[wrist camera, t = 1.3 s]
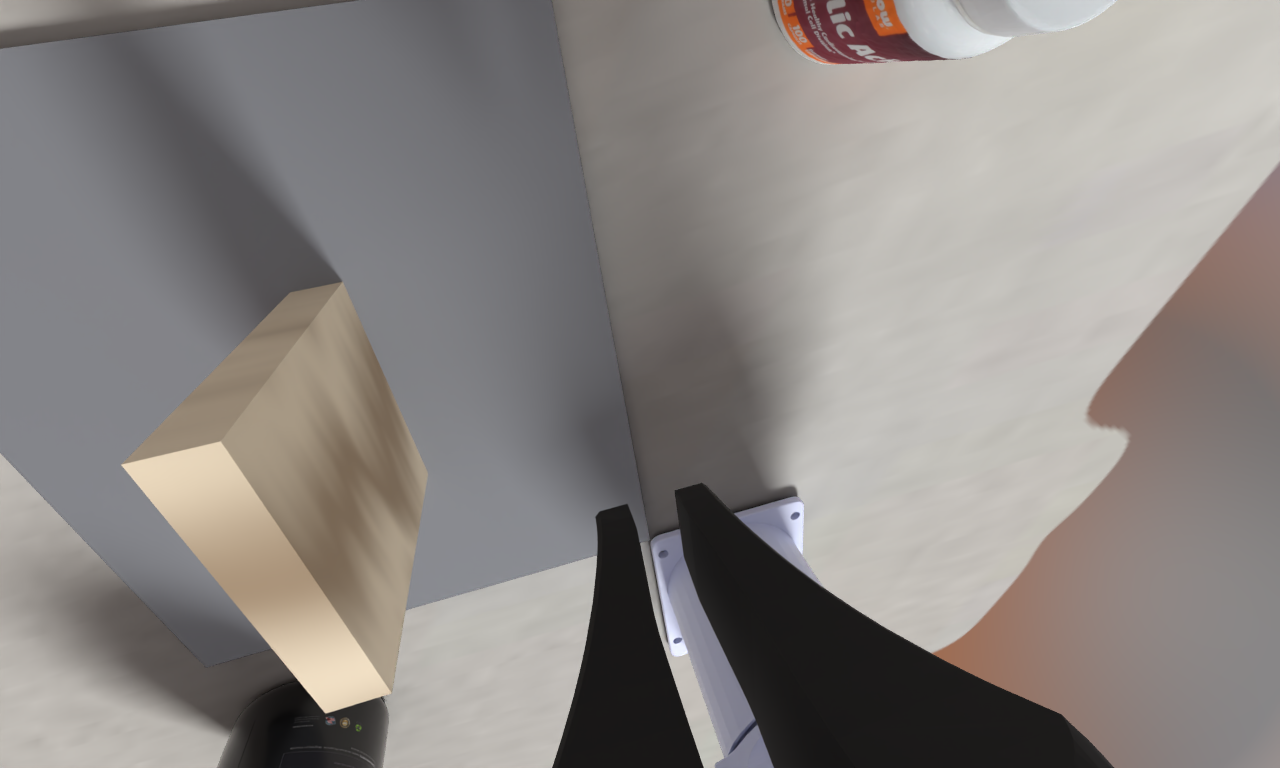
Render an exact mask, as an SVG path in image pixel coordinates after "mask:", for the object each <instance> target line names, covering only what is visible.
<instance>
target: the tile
mask: <svg viewBox="0 0 1280 768" xmlns="http://www.w3.org/2000/svg"><path fill="white" fill-rule="evenodd" d="M121 465H122V467H123V468H124V469H125V470H126V471H127V473H128V474H129V475H130V476H131V478H132V479H133V480H134V481H135V482H136V484H137V485H138V486H139V487H140V488H141V490H142V491H143V492H144V493H145V495H146V496H147V497H148V498H149V499H150V501H151V502H152V503H153V504H154V506H155V507H156V508H157V509H158V510H159V512H160V513H161V514H162V515H163V516H164V518H165V519H166V520H167V521H168V523H169V524H170V525H171V526H172V527H173V529H174V530H175V531H176V532H177V533H178V535H179V536H180V537H181V538H182V540H183V541H184V542H185V543H186V544H187V546H188V547H189V548H190V549H191V551H192V552H193V553H194V554H195V555H196V557H197V558H198V559H199V560H200V561H201V563H202V564H203V565H204V566H205V568H206V569H207V570H208V571H209V572H210V574H211V575H212V576H213V577H214V578H215V580H216V581H217V582H218V583H219V585H220V586H221V587H222V588H223V589H224V591H225V592H226V593H227V594H228V596H229V597H230V598H231V599H232V600H233V602H234V603H235V604H236V605H237V606H238V608H239V609H240V610H241V611H242V613H243V614H244V615H245V616H246V617H247V619H248V620H249V621H250V622H251V623H252V625H253V626H254V627H255V628H256V630H257V631H258V632H259V633H260V634H261V636H262V637H263V638H264V639H265V641H266V642H267V643H268V644H269V645H270V647H271V648H272V649H273V650H274V651H275V653H276V654H277V655H278V656H279V658H280V659H281V660H282V661H283V662H284V664H285V665H286V666H287V667H288V668H289V670H290V671H291V672H292V673H293V675H294V676H295V677H296V678H297V679H298V681H299V682H300V683H301V684H302V686H303V687H304V688H305V689H306V690H307V692H308V693H309V694H310V695H311V696H312V698H313V699H314V700H315V701H316V703H317V704H318V705H319V706H320V707H321V709H322V710H323V711H324V712H325V713H329V712H333V711H336V710H339V709H342V708H346V707H349V706H352V705H355V704H359V703H362V702H365V701H368V700H372V699H375V698H378V697H381V696H385V695H388V694H391V693H392V689H393V683H394V677H395V671H396V665H397V658H398V652H399V646H400V640H401V634H402V628H403V622H404V616H405V610H406V604H407V598H408V592H409V586H410V580H411V574H412V568H413V562H414V556H415V550H416V544H417V538H418V532H419V526H420V519H421V513H422V507H423V501H424V495H425V489H426V483H427V477H428V472H427V470H426V468H425V465H424V463H423V461H422V459H421V456H420V454H419V452H418V450H417V447H416V445H415V443H414V441H413V438H412V436H411V434H410V432H409V429H408V427H407V425H406V423H405V420H404V418H403V416H402V414H401V411H400V409H399V407H398V405H397V402H396V400H395V398H394V396H393V393H392V391H391V389H390V387H389V385H388V382H387V380H386V378H385V376H384V373H383V371H382V369H381V367H380V364H379V362H378V360H377V358H376V355H375V353H374V351H373V349H372V346H371V344H370V342H369V340H368V337H367V335H366V333H365V331H364V328H363V326H362V324H361V322H360V319H359V317H358V315H357V313H356V310H355V308H354V306H353V304H352V301H351V299H350V297H349V295H348V292H347V290H346V288H345V286H344V284H343V282H339V283H334V284H329V285H324V286H319V287H314V288H310V289H305V290H300V291H295V292H290V293H289V294H288V295H287V296H286V297H285V298H284V299H283V300H282V301H281V302H280V303H279V304H278V305H277V306H276V307H275V308H274V309H273V310H272V311H271V312H270V313H269V314H268V315H267V316H266V317H265V318H264V319H263V320H262V322H261V323H260V324H259V325H258V326H257V327H256V328H255V329H254V330H253V331H252V332H251V333H250V334H249V335H248V336H247V337H246V338H245V339H244V340H243V341H242V342H241V343H240V344H239V345H238V346H237V347H236V348H235V349H234V350H233V351H232V352H231V353H230V354H229V355H228V356H227V357H226V358H225V359H224V360H223V361H222V362H221V363H220V364H219V365H218V366H217V367H216V368H215V369H214V370H213V371H212V373H211V374H210V375H209V376H208V377H207V378H206V379H205V380H204V381H203V382H202V383H201V384H200V385H199V386H198V387H197V388H196V389H195V390H194V391H193V392H192V393H191V394H190V395H189V396H188V397H187V398H186V399H185V400H184V401H183V402H182V403H181V404H180V405H179V406H178V407H177V408H176V409H175V410H174V411H173V412H172V413H171V414H170V415H169V416H168V417H167V418H166V419H165V420H164V421H163V423H162V424H161V425H160V426H159V427H158V428H157V429H156V430H155V431H154V432H153V433H152V434H151V435H150V436H149V437H148V438H147V439H146V440H145V441H144V442H143V443H142V444H141V445H140V446H139V447H138V448H137V449H136V450H135V451H134V452H133V453H132V454H131V455H130V456H129V457H128V458H127V459H126V460H125V461H124V462H123V463H122V464H121Z"/></svg>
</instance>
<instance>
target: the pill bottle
mask: <svg viewBox="0 0 1280 768" xmlns="http://www.w3.org/2000/svg"><path fill="white" fill-rule="evenodd" d="M1116 1H1117V0H772V4H773V9H774V12H775V16H776V21H777V23H778V25H779V27H780V29H781V31H782V33H783V35H784V37H785V38H786V40H787V41H788V43H789V44H790V45H791V46H792V47H793V49H794V50H795V51H796V52H797V53H799V54H800V55H801V56H803V57H805V58H806V59H808V60H810V61H813V62H816V63H819V64H825V65H836V64H856V63H884V62H899V61H915V60H918V61H930V60H948V59H950V60H956V59H966V58H971V57H974V56H977V55H980V54H983V53H985V52H988V51H990V50H992V49H994V48H996V47H998V46H1000V45H1002V44H1004V43H1006V42H1007V41H1009V40H1010V39H1012V38H1013V37H1019V36H1025V35H1034V34H1044V33H1053V32H1059V31H1064V30H1068V29H1072V28H1074V27H1077V26H1080V25H1082V24H1084V23H1086V22H1088V21H1089V20H1091V19H1093V18H1095V17H1096V16H1098V15H1099V14H1101V13H1102V12H1103V11H1105V10H1106V9H1107V8H1109V7H1110V6H1111V5H1113V4H1114V3H1115V2H1116Z"/></svg>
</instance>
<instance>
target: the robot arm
mask: <svg viewBox="0 0 1280 768" xmlns="http://www.w3.org/2000/svg"><path fill="white" fill-rule="evenodd" d="M675 497H676V504H677V512H678V519H679V526H680V529H678V530H674V531H671V532H668V533H664V534H661V535H658V536H656V537H654V538H653V539H652V541H651V550H652V556H653V561H654V567H655V572H656V578H657V583H658V589H659V594H660V600H661V605H662V611H663V616H664V621H665V627H666V632H667V638H668V643H669V649H670V652H671V654H672V655H673V656H681V655H684V654H689V657H690V660H691V663H692V666H693V669H694V672H695V674H696V677H697V680H698V683H699V686H700V689H701V692H702V695H703V698H704V701H705V703H706V706H707V709H708V712H709V715H710V718H711V721H712V724H713V727H714V729H715V732H716V735H717V738H718V741H719V744H720V747H721V750H722V753H723V756H724V759H722V760H720V761H719V762H717V763H716V764H715V768H1114V767H1113V766H1112V765H1111V764H1110V763H1109V762H1108V760H1107V759H1106V758H1105V757H1104V756H1103V755H1102V754H1101V753H1100V752H1099V751H1098V750H1097V749H1096V748H1095V746H1093V744H1092V743H1091V742H1090V741H1089V740H1088V739H1087V738H1086V737H1084V736H1083V735H1082V734H1081V733H1080V732H1079V731H1078V730H1077V729H1076V728H1075V727H1074V726H1072V725H1071V724H1070V723H1069V722H1068V721H1067V720H1066V719H1065V718H1064V717H1063V716H1062V715H1061V714H1059V713H1057V712H1055V711H1052V710H1050V709H1047V708H1045V707H1043V706H1041V705H1038V704H1036V703H1034V702H1032V701H1029V700H1027V699H1025V698H1023V697H1020V696H1018V695H1016V694H1013V693H1011V692H1009V691H1006V690H1004V689H1002V688H1000V687H997V686H995V685H993V684H991V683H989V682H987V681H984V680H982V679H980V678H978V677H976V676H974V675H972V674H970V673H968V672H966V671H964V670H962V669H960V668H958V667H956V666H954V665H952V664H950V663H948V662H946V661H944V660H942V659H940V658H939V657H937V656H935V655H933V654H931V653H930V652H928V651H926V650H924V649H922V648H921V647H919V646H917V645H915V644H913V643H912V642H910V641H908V640H906V639H904V638H903V637H901V636H899V635H897V634H895V633H894V632H892V631H890V630H888V629H886V628H885V627H883V626H881V625H880V624H878V623H877V622H875V621H873V620H872V619H870V618H869V617H867V616H865V615H864V614H862V613H861V612H859V611H857V610H856V609H854V608H853V607H851V606H850V605H848V604H847V603H845V602H844V601H842V600H841V599H839V598H838V597H836V596H835V595H833V594H832V593H830V592H829V591H827V590H826V589H825V588H824V587H823V586H822V584H821V583H820V581H819V580H818V578H817V577H816V575H815V574H814V572H813V571H812V569H811V568H810V566H809V565H808V563H807V562H806V560H805V559H804V557H803V522H804V504H803V502H802V500H801V499H800V498H799V497H796V496H795V497H790V498H786V499H783V500H779V501H776V502H772V503H769V504H765V505H762V506H758V507H755V508H751V509H748V510H744V511H741V512H737V513H733V512H732V511H731V510H730V509H729V508H728V507H727V506H726V505H725V504H724V503H723V502H722V501H721V500H720V499H719V498H718V497H717V496H716V495H715V494H714V493H713V492H712V491H711V490H710V489H709V488H708V487H707V486H706V485H704V484H702V483H700V484H697V485H693V486H689V487H686V488H682V489H679V490H675ZM595 518H596V524H597V540H598V547H597V569H596V578H595V588H594V597H593V605H592V611H591V617H590V623H589V628H588V634H587V640H586V645H585V650H584V655H583V660H582V664H581V669H580V673H579V677H578V681H577V685H576V689H575V693H574V697H573V701H572V704H571V708H570V711H569V715H568V718H567V722H566V725H565V729H564V732H563V736H562V739H561V742H560V745H559V749H558V752H557V755H556V758H555V761H554V764H553V767H552V768H704V767H703V765H702V762H701V759H700V756H699V753H698V750H697V747H696V744H695V741H694V738H693V735H692V732H691V729H690V726H689V723H688V720H687V717H686V714H685V711H684V708H683V705H682V702H681V699H680V696H679V693H678V690H677V687H676V684H675V681H674V678H673V675H672V672H671V669H670V666H669V663H668V660H667V656H666V653H665V650H664V647H663V644H662V641H661V638H660V635H659V632H658V628H657V624H656V620H655V616H654V612H653V607H652V602H651V597H650V592H649V586H648V581H647V576H646V571H645V566H644V561H643V556H642V551H641V546H640V541H639V536H638V531H637V527H636V525H635V522H634V519H633V516H632V514H631V511H630V509H629V506H628V504H624V505H621V506H617V507H613V508H610V509H606V510H602V511H599V513H598V514H597V515H596V516H595ZM664 550H665V551H664ZM661 551H663V552H661Z"/></svg>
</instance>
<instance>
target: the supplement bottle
mask: <svg viewBox="0 0 1280 768" xmlns="http://www.w3.org/2000/svg"><path fill="white" fill-rule="evenodd" d="M388 724H389V715H388V710H387V707H386V705H385V703H384V702H383V700H382V699H381V698H380V697H378V698H375V699H372V700H368V701H365V702H362V703H359V704H355V705H352V706H349V707H346V708H342V709H339V710H336V711H333V712H329V713H325V712H324V711H323V710H322V709H321V707H320V706H319V705H318V704H317V703H316V701H315V700H314V699H313V698H312V696H311V695H310V694H309V693H308V692H307V690H306V689H305V688H304V687H303V686H302V684H301V683H300V682H299V681H297V682H292V683H289V684H286V685H283V686H280V687H277V688H275V689H273V690H271V691H269V692H267V693H265V694H263V695H262V696H260V697H259V698H257V699H256V700H255V701H253V702H252V703H251V704H250V705H249V706H248V707H247V708H246V709H245V710H244V711H243V712H242V713H241V715H240V716H239V717H238V719H237V721H236V723H235V725H234V727H233V729H232V731H231V734H230V736H229V739H228V741H227V744H226V746H225V748H224V751H223V753H222V756H221V758H220V761H219V763H218V766H217V768H383V762H384V755H385V748H386V740H387V733H388Z"/></svg>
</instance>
